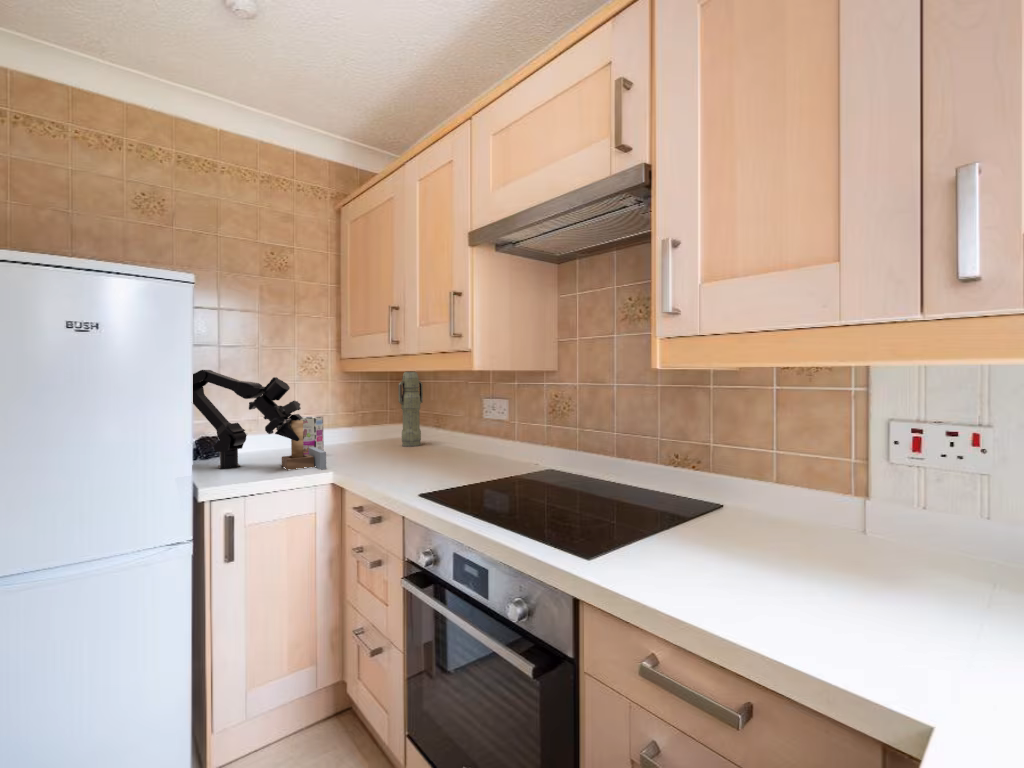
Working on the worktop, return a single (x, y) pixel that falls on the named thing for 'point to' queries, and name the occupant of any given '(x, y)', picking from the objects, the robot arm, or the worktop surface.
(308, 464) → the socket block
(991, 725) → the worktop surface
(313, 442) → the candy bar box
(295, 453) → the dowel
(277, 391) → the robot arm
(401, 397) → the green stone statue
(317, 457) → the backstop wall
